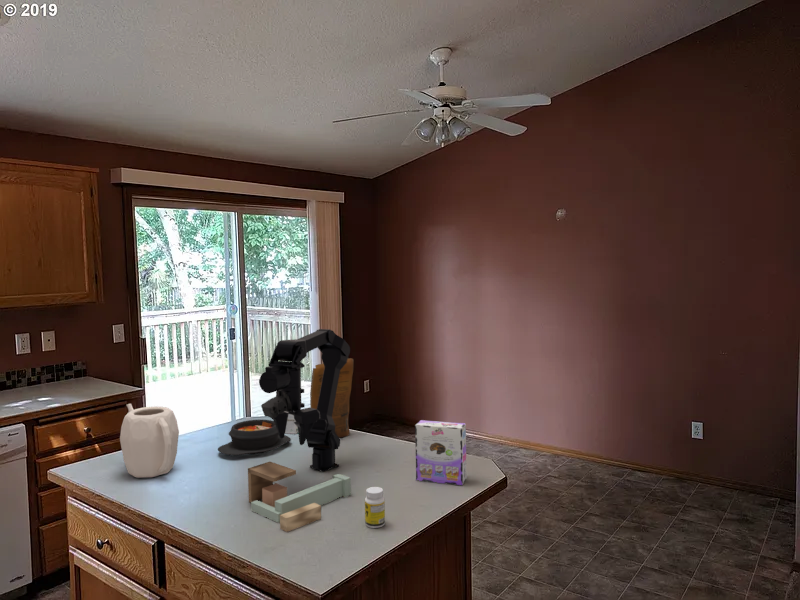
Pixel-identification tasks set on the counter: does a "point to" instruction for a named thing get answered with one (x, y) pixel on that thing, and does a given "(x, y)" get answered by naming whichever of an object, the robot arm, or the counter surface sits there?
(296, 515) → the wooden toy brick
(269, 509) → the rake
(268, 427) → the casserole
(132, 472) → the watering can
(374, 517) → the supplement bottle
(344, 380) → the pancake mix bag
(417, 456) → the candy box
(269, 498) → the block
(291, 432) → the syrup box
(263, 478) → the shelf
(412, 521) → the counter surface
